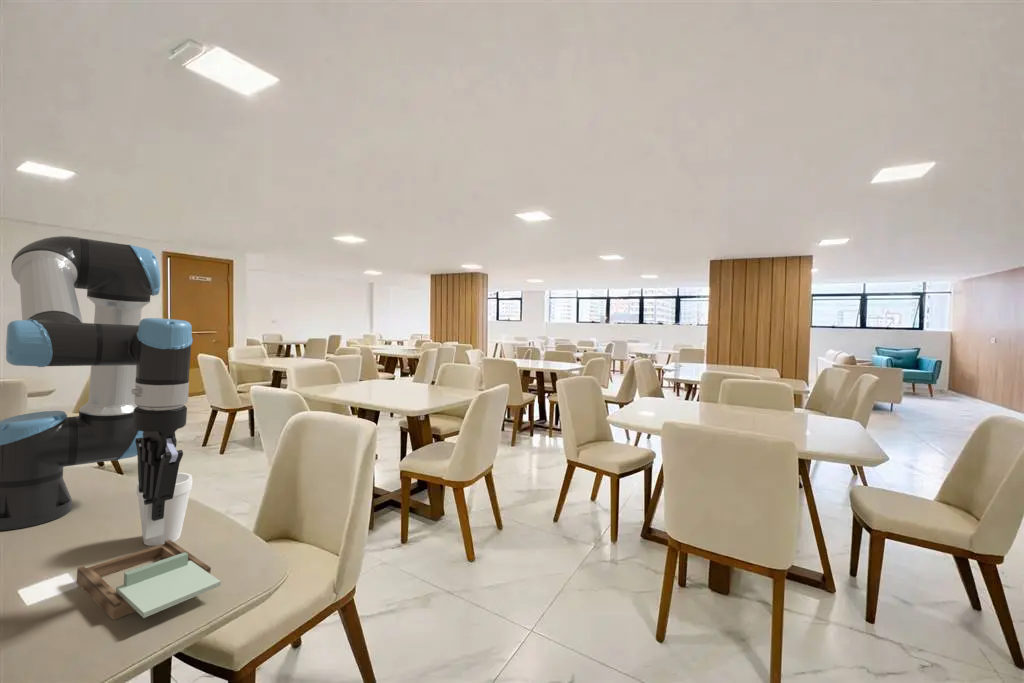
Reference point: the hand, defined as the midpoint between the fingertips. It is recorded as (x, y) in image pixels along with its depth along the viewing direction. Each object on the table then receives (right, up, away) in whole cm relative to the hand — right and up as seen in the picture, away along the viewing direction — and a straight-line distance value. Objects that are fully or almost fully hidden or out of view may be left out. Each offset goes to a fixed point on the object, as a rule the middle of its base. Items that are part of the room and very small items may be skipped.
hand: (153, 535), depth 80 cm
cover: (+6, -7, -4) cm, 10 cm away
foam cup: (-11, -8, +17) cm, 22 cm away
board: (-3, -9, +1) cm, 9 cm away
